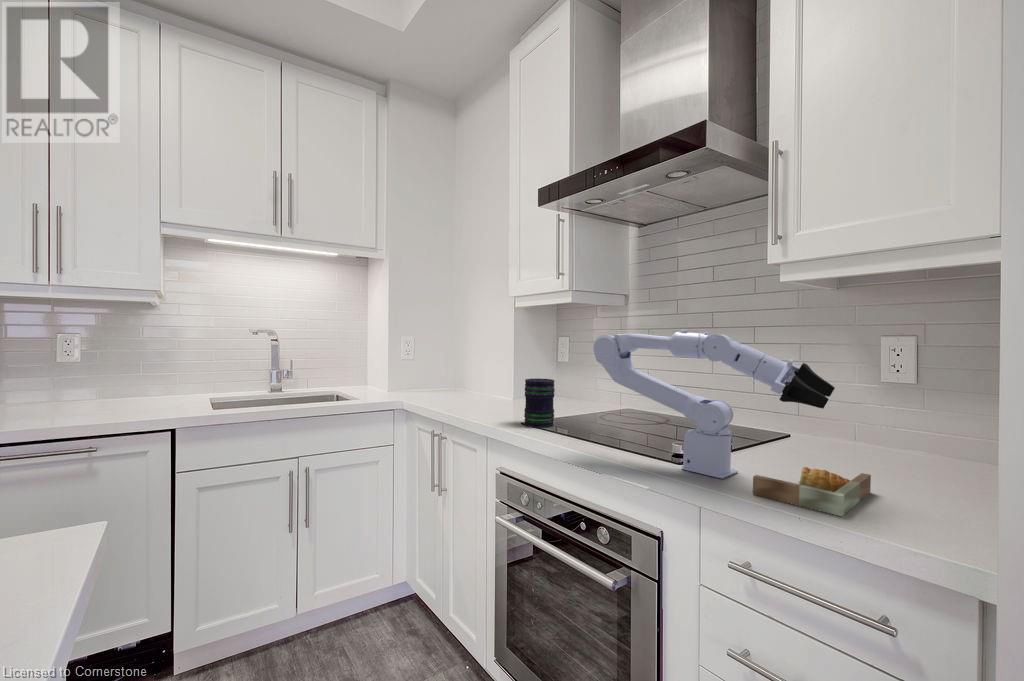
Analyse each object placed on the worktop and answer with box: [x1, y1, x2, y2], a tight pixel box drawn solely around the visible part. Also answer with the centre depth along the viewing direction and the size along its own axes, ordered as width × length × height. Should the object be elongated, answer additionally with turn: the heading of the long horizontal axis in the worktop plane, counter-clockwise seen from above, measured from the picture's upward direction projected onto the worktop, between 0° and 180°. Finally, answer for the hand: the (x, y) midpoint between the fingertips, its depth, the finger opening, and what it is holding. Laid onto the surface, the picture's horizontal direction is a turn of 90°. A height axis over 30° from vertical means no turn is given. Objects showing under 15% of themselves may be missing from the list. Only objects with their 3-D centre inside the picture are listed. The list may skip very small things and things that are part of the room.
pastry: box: [798, 466, 851, 492], centre depth 96 cm, size 9×7×4 cm
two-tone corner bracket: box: [752, 472, 872, 517], centre depth 93 cm, size 14×20×4 cm
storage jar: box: [523, 378, 556, 429], centre depth 158 cm, size 10×10×15 cm
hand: (829, 398), depth 94 cm, fingers open, 7 cm apart
